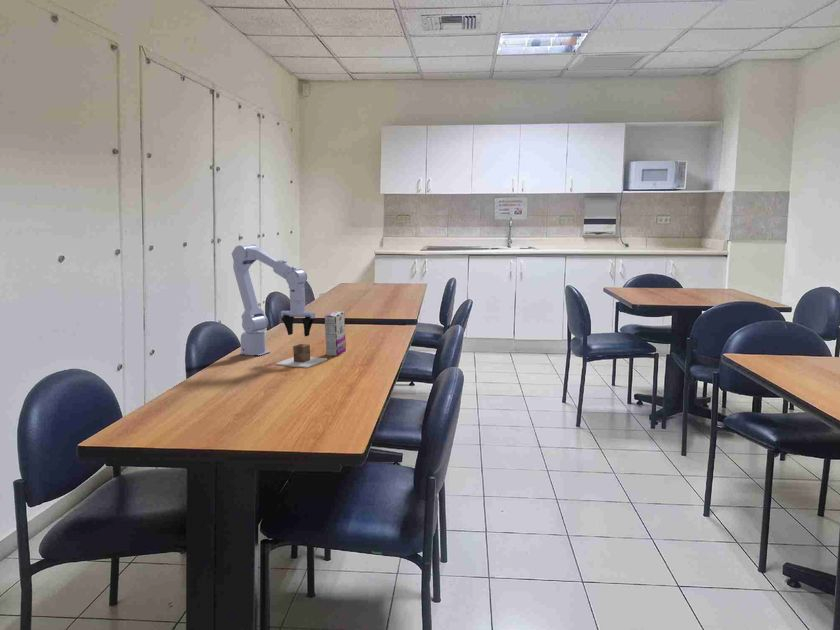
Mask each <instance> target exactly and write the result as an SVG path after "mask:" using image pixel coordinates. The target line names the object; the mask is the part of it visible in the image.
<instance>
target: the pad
mask: <svg viewBox="0 0 840 630" xmlns="http://www.w3.org/2000/svg"><path fill="white" fill-rule="evenodd" d="M327 361H328V358H323V357H315V356H310V360H309V361H307V362H304V363H303V362H294V356H292V357H290V358H287V359H283V360H282V361H278V362H276V363H275V366H283V367H291V368H292V367H294V368H303V369H309V368H311V367H313V366H316V365H319V364H321V363H323V362H327Z"/></svg>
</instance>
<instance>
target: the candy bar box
mask: <svg viewBox="0 0 840 630" xmlns="http://www.w3.org/2000/svg"><path fill="white" fill-rule="evenodd" d="M345 318H346V317H345V311H332V312H330V313H328V314H326V315H324V328H325V329H324V330H325V331H324V332H325V351H326V357H327V356H328V357H338V356H340V355H341V354H343V353H344V352H345V351H346V350H347V348H346V347H347V344H346V323H345V321H346V320H345ZM342 352H343V353H342ZM339 354H340V355H339Z"/></svg>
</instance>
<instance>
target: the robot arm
mask: <svg viewBox="0 0 840 630" xmlns="http://www.w3.org/2000/svg"><path fill="white" fill-rule="evenodd" d="M231 257H232V261H233V266H232V267H233V271H234V276H235V280H236V283H237V287H238V291H239V294H240V297H241V301H242V304H243V308H244V311H243V313H242V314H241V321H242V323H241V326H242V327H241V328H242V329H243V331H244V332H242V333H241V335H240V353H239V354H240V355H243V354H244V356H245V355H246V356H254V355H258V356H257V357H259V355H260V356H262V355H266V354H268V353H271V351H270V350H266V349H267V348H266V330H267V328H268V326H269V319H268V317H267V316H266V314H265V312H264V311H265V310H263V309H262V308H260V307H259V304H258V300H257V296H256V293H255V290H254V285H253V281H252V278H251V275H250V272H249V269H250V268H251V266H252V265H253V264H254V263H255V262H257V261H259V262H261V263H263V264H265V265H267V266H269V267H271V268H272V270H273V273H275V274H276V275H278V276H279V277H281V278H283V279H285V281H286V283H287V285H288V288H289V308H290V309H289V310H281V311H280V316H281V321H282V322H283V323H284V326H285V330H286V332H287V334H288V336H291V335H293V333H294V332H293V331H294V326H293V325H294V319H295V318H302V319H301V321H302V323H303V324H302V325H303V334H304V337H309V336H310V332H311V329H312V326H313V323H314V321H315V318H316V312H313V311H306V298H305V297H306V292H305V283H306V282H307V280H308V274H307V272H306V271H304V269H303V268H298V269H297V267H296V266H294V265H291V264H289V263H288V261H287V260H286V259H280V260H278V259H276V258H275V257H273V256H271V255H270V254H269V253H267V252H266V251H265V250H263V249H262V247H260V246H258V245H256V244H249V245H248V244H246V245H239V244H238V245H237V246H235V247H234V249H233V250H232V252H231Z"/></svg>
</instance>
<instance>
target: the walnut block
mask: <svg viewBox="0 0 840 630" xmlns="http://www.w3.org/2000/svg"><path fill="white" fill-rule="evenodd" d="M292 349H293V352H292V354H293V357H294V362H303V363H304V362H307V361H309V360H310V357H311V345H310V344H305V343H299V344H295V345H293V347H292Z"/></svg>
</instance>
